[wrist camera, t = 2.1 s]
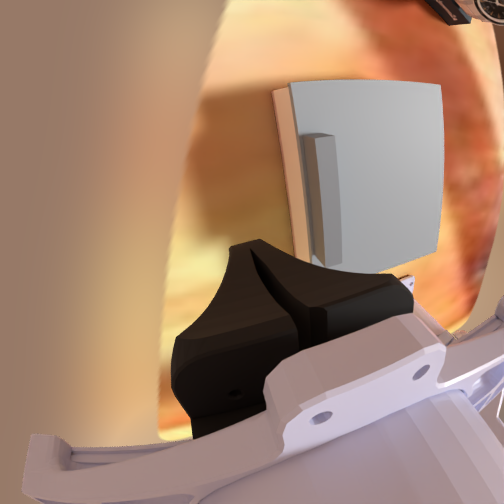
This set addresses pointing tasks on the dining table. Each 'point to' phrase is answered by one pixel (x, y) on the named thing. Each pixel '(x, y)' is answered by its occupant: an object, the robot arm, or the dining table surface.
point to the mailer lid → (369, 170)
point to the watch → (469, 11)
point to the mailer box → (291, 171)
